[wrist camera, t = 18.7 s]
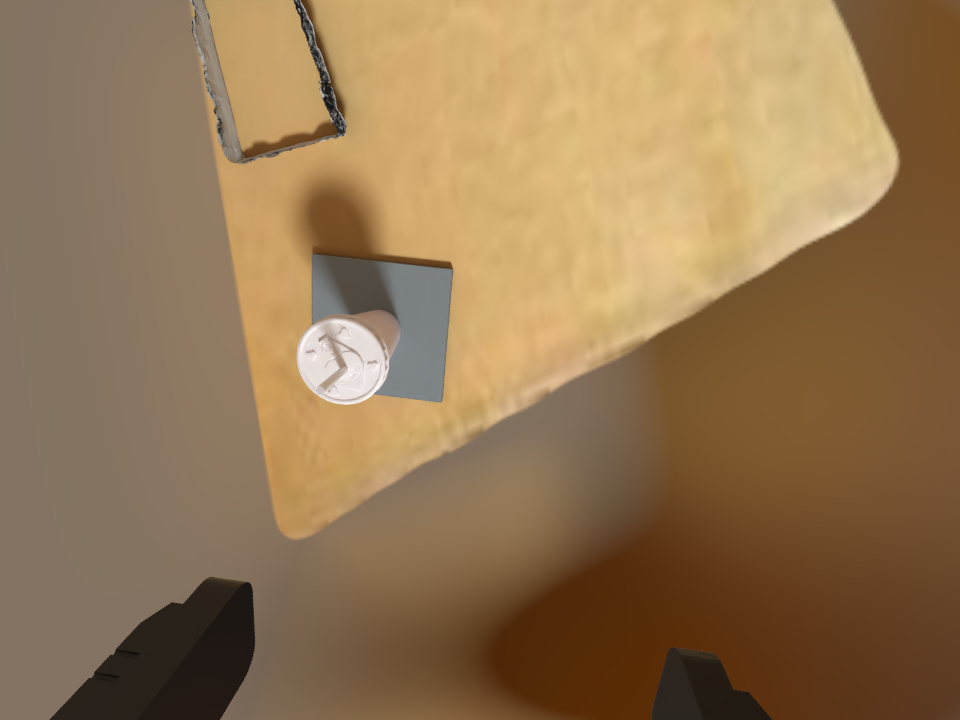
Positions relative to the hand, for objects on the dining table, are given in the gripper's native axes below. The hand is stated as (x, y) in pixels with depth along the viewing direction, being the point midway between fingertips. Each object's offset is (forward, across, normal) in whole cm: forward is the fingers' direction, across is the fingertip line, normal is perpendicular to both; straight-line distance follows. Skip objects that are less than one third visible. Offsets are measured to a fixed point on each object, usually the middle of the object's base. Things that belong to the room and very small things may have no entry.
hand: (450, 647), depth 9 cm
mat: (+34, +11, +3) cm, 36 cm away
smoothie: (+34, +11, +3) cm, 36 cm away
